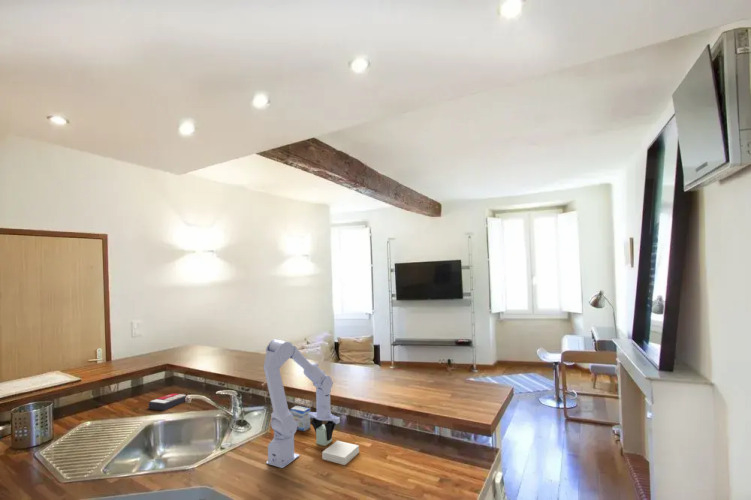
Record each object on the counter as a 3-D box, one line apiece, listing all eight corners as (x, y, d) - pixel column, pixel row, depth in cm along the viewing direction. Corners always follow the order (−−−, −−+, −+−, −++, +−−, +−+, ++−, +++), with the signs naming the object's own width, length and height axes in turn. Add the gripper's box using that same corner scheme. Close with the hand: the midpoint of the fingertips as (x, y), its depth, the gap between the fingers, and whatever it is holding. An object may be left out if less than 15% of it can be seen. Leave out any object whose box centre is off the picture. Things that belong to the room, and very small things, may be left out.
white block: (344, 466, 131) (344, 457, 131) (322, 460, 136) (322, 452, 136) (359, 453, 140) (358, 445, 140) (337, 448, 145) (337, 440, 145)
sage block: (325, 446, 146) (325, 430, 146) (316, 443, 148) (316, 428, 148) (332, 441, 150) (331, 426, 150) (323, 439, 152) (322, 424, 152)
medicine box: (290, 428, 163) (290, 408, 164) (296, 424, 167) (296, 405, 167) (304, 431, 159) (303, 411, 160) (310, 427, 163) (310, 407, 164)
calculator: (187, 394, 203) (164, 402, 189) (187, 402, 203) (163, 411, 189) (172, 392, 207) (148, 400, 193) (172, 400, 206) (148, 409, 192)
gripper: (343, 403, 150) (344, 437, 149) (315, 398, 156) (315, 431, 156) (333, 409, 143) (334, 445, 143) (304, 404, 150) (305, 438, 149)
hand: (324, 438), depth 149 cm, fingers closed on sage block, 4 cm apart
